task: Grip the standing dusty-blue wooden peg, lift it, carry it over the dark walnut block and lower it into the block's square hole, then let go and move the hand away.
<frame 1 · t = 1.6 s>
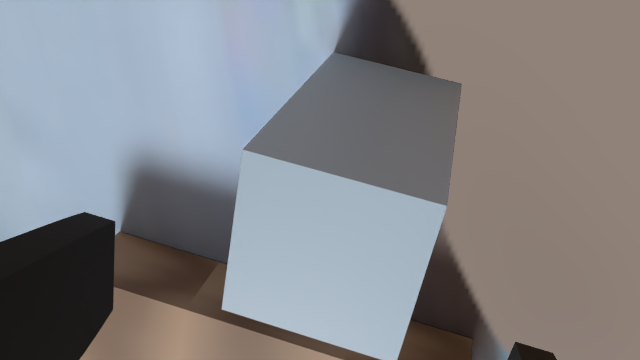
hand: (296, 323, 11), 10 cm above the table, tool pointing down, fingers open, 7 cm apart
peg: (381, 127, 19), on the table
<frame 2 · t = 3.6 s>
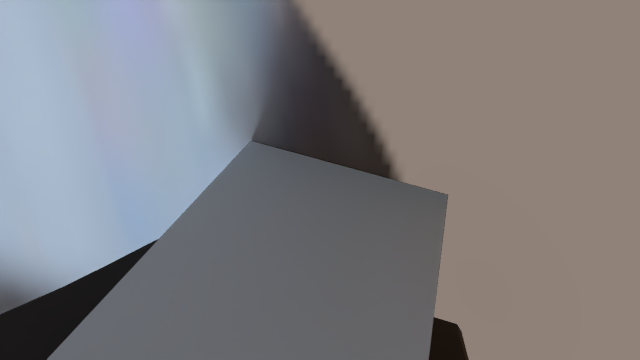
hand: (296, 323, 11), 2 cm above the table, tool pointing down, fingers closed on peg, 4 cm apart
peg: (328, 250, 13), on the table, touching gripper
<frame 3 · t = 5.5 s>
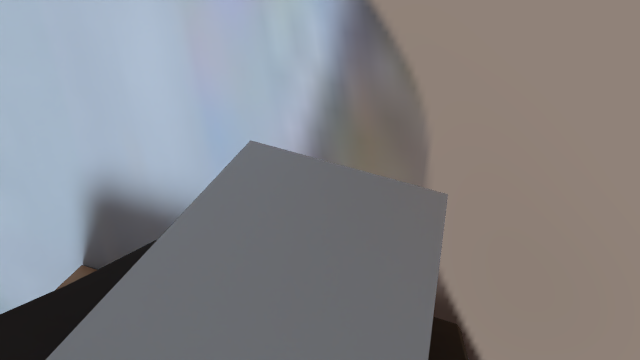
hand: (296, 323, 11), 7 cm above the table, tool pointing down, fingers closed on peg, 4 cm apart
peg: (328, 250, 13), point 5 cm above the table, touching gripper
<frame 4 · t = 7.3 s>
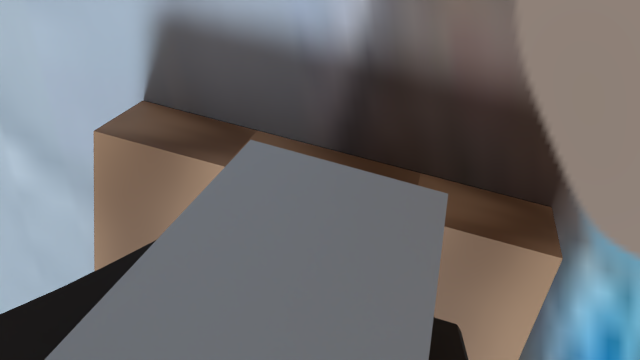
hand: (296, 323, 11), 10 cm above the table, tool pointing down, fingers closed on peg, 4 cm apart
socket block: (304, 314, 23), on the table
peg: (328, 249, 13), point 7 cm above the table, touching gripper
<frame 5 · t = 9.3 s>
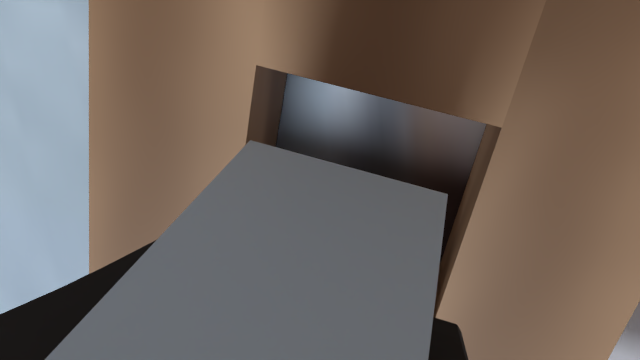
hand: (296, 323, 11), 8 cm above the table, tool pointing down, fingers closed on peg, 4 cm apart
socket block: (370, 155, 17), on the table
peg: (328, 250, 13), point 5 cm above the table, touching gripper
when the fingers open (4 cm above the table, at t = 11.2 s): peg drops 2 cm, resting in socket block.
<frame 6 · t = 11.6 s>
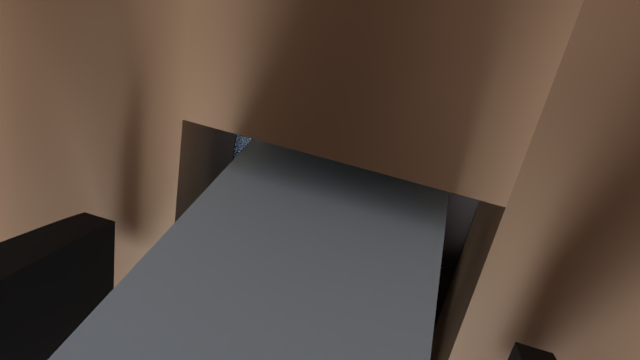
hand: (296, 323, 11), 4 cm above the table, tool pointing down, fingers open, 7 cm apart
socket block: (342, 217, 14), on the table
peg: (343, 216, 14), resting in socket block
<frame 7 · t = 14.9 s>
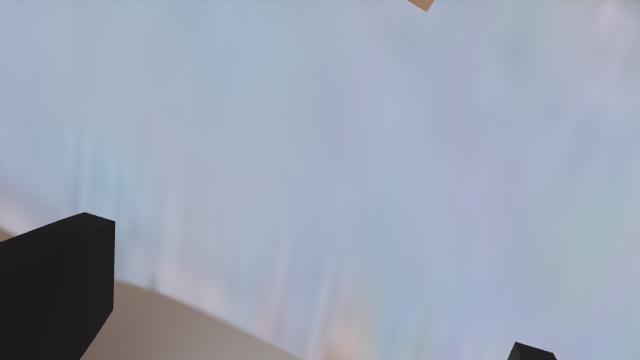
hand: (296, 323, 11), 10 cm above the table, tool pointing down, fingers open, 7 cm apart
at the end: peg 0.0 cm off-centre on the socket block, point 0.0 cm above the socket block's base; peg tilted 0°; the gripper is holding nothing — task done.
